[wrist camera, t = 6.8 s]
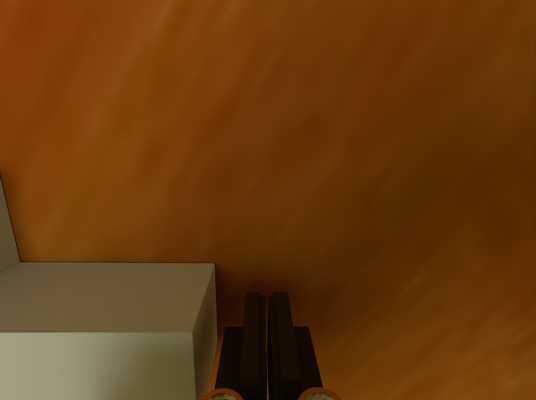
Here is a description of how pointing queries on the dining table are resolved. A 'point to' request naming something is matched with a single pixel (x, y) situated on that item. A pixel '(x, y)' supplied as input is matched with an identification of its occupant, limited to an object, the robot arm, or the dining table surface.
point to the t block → (103, 328)
